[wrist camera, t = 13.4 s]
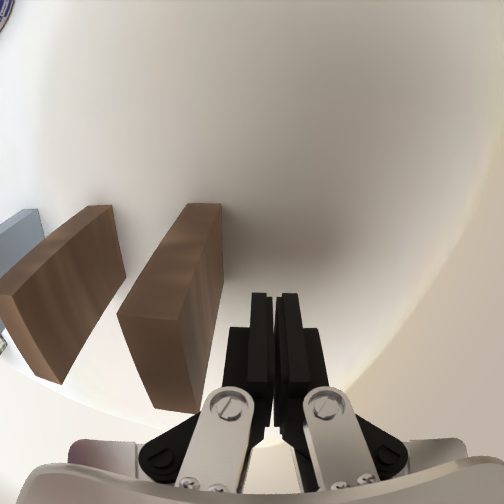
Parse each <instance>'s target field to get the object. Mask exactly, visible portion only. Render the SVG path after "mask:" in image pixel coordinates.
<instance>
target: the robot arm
mask: <svg viewBox="0 0 504 504" xmlns="http://www.w3.org/2000/svg"><path fill="white" fill-rule="evenodd" d="M273 399H274V427H280V434H282V439H283V440H284V441H286V442H287V443H288V444H289V445H291V452H292V457H293V461H294V465H295V470H296V474H297V478H298V483H299V487H300V491H301V493H298V494H267V495H265V494H242V493H243V489H244V485H245V481H246V477H247V472H248V468H249V464H250V459H251V454H252V450H253V447H254V446H255V445H257V444H258V443H259V442H261V441H262V440H263V439H264V430H265V427H269V426H270V418H271V411H272V403H273ZM16 504H504V462H503V461H502V460H501V459H499V458H496V457H490V456H473V457H467V449H466V446H465V444H464V443H463V441H461V440H459V439H458V438H443V439H428V440H409V441H408V442H401V441H400V440H398V439H397V438H395V437H393V436H391V435H390V434H388V433H386V432H385V431H382V430H381V429H380V428H378V427H376V426H374V425H372V424H371V423H370V422H368V421H366V420H365V419H363V418H361V417H360V416H358V415H357V414H355V413H354V411H353V408H352V405H351V403H350V401H349V399H348V397H347V396H346V394H344V393H343V392H342V391H341V390H339V389H337V388H334V387H329V383H328V377H327V372H326V367H325V361H324V356H323V351H322V346H321V341H320V336H319V332H318V329H317V328H303V325H302V319H301V312H300V306H299V300H298V294H297V293H282V297H277V298H276V311H275V325H274V329H273V303H272V297H267V294H266V293H252V299H251V317H250V328H248V327H230V330H229V337H228V344H227V352H226V360H225V367H224V375H223V383H222V387H221V388H218V389H216V390H214V391H213V392H211V393H210V394H209V395H208V397H207V398H206V400H205V402H204V405H203V408H202V411H200V412H199V413H197V414H195V415H194V416H192V417H190V418H189V419H187V420H186V421H184V422H182V423H181V424H179V425H177V426H175V427H174V428H172V429H170V430H169V431H167V432H165V433H164V434H162V435H160V436H158V437H156V438H155V439H153V440H151V441H149V442H148V443H146V444H136V443H135V442H118V441H100V440H89V439H82V440H78V441H76V442H74V443H73V444H72V446H71V447H70V450H69V453H68V463H51V464H45V465H41V466H39V467H37V468H36V469H34V470H33V471H32V472H31V474H30V475H29V476H28V478H27V479H26V481H25V483H24V485H23V487H22V489H21V491H20V494H19V497H18V499H17V502H16Z"/></svg>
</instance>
